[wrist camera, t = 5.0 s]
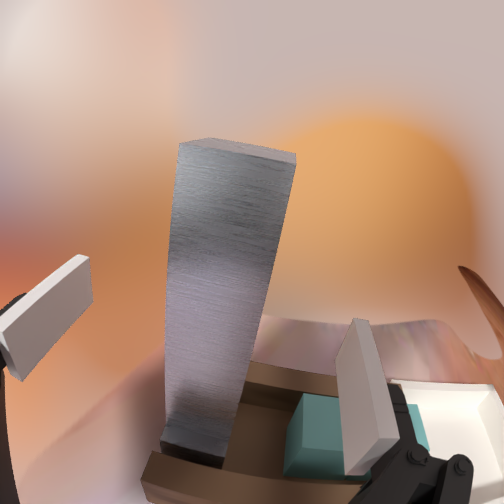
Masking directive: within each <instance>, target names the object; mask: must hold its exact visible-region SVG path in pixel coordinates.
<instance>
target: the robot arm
mask: <svg viewBox="0 0 504 504" xmlns="http://www.w3.org/2000/svg"><path fill="white" fill-rule="evenodd" d="M92 303H93V294H92V284H91V273H90V259H89V257H86V256H83V255H79V254H77V255H76V256H75V257H73V258H72V259H71V260H69V261H68V262H66V263H65V264H64V265H63V266H61V267H60V268H59V269H57V270H56V271H55V272H53V273H52V274H51V275H50V276H48V277H47V278H46V279H45V280H43V281H42V282H41V283H40V284H38V285H37V286H36V287H35V288H33V289H32V290H31V291H30V292H29V293H24V294H21V295H19V296H17V297H15V298H14V299H13V300H12V301H11V302H9V304H7V305H6V306H5V307H4V308H3V309H1V310H0V504H20V502H19V498H18V494H17V489H16V485H15V480H14V475H13V470H12V464H11V457H10V451H9V442H8V434H7V424H6V409H5V380H4V379H5V376H4V371H3V368H4V367H5V366H6V365H7V367H8V370H9V372H10V374H11V375H12V376H14V377H15V378H17V379H18V380H20V381H22V382H23V380H24V379H25V378H26V377H27V375H28V374H29V373H30V372H31V371H32V370H33V369H34V367H35V366H36V365H37V364H38V362H39V361H40V360H41V359H42V358H43V357H44V356H45V355H46V353H47V352H48V351H49V350H50V349H51V348H52V346H53V345H54V344H55V343H56V342H57V341H58V340H59V339H60V337H61V336H62V335H63V334H64V333H65V332H66V331H67V330H68V329H69V328H70V326H71V325H72V324H73V323H74V322H75V321H76V320H77V319H78V318H79V317H80V316H81V314H83V312H84V311H85V310H86V309H87V308H88V307H89V306H90V305H91V304H92ZM335 368H336V377H337V386H338V395H339V405H340V415H341V427H342V439H343V453H344V469H345V475H364V474H365V473H366V472H367V471H369V470H370V469H371V478H370V479H369V480H367V481H366V482H365V483H364V484H363V485H362V486H361V487H359V488H361V489H360V490H359V491H358V493H357V494H356V495H355V496H354V497H353V498H352V499H351V500H350V502H349V503H348V504H469V501H470V495H471V489H472V482H473V475H474V466H473V464H472V461H471V460H470V459H469V458H468V457H467V456H465V455H463V454H456V455H453V456H452V457H451V458H450V459H449V460H444V459H440V458H436V457H432V456H430V454H429V452H428V450H427V449H426V448H425V447H424V446H423V445H421V444H419V443H418V442H417V439H416V435H415V431H414V427H413V423H412V420H411V416H410V414H409V409H408V406H407V402H406V398H405V395H404V393H403V392H402V390H401V389H400V388H399V386H398V385H395V384H387V383H386V379H385V375H384V372H383V368H382V364H381V361H380V357H379V354H378V351H377V347H376V344H375V340H374V337H373V334H372V331H371V327H370V324H369V321H368V320H363V319H357V318H353V321H352V323H351V325H350V327H349V330H348V332H347V334H346V336H345V339H344V341H343V343H342V345H341V348H340V350H339V352H338V354H337V356H336V358H335Z"/></svg>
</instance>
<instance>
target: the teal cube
mask: <svg viewBox="0 0 504 504" xmlns="http://www.w3.org/2000/svg"><path fill="white" fill-rule="evenodd" d="M407 406H408V409H409V414H410V416H411V420H412V423H413V427H414V431H415V435H416V439H417V442H418V443H419V444H421V445H423V446H424V447H425V448H426V449H427V450H428V452H429V451H430V448H429V444H428V440H427V437H426V433H425V429H424V426H423V422H422V419H421V415H420V412H419V408H418V405H417V404H407ZM370 478H371V469H370V470H369V471H367V472H366V473H365V474H364V475H348V476H347V477H346V480H348V481H367V480H369V479H370Z"/></svg>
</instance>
